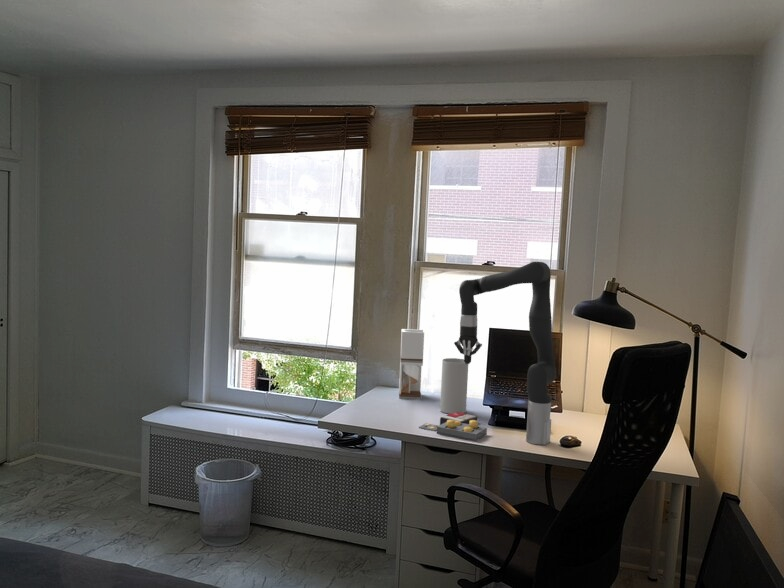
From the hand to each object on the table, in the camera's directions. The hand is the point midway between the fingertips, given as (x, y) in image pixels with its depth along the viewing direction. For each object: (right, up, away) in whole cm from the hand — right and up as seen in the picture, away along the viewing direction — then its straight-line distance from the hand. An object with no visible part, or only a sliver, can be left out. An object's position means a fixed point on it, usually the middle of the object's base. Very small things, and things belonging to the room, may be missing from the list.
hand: (467, 363), depth 289 cm
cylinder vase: (-4, -26, +26) cm, 37 cm away
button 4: (+1, -27, -11) cm, 29 cm away
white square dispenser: (-24, -23, +53) cm, 63 cm away
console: (-4, -29, -11) cm, 31 cm away
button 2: (-6, -28, -7) cm, 29 cm away
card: (-17, -28, -3) cm, 33 cm away
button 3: (-2, -28, -15) cm, 32 cm away
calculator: (-3, -28, +5) cm, 29 cm away
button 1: (-8, -26, -11) cm, 30 cm away
